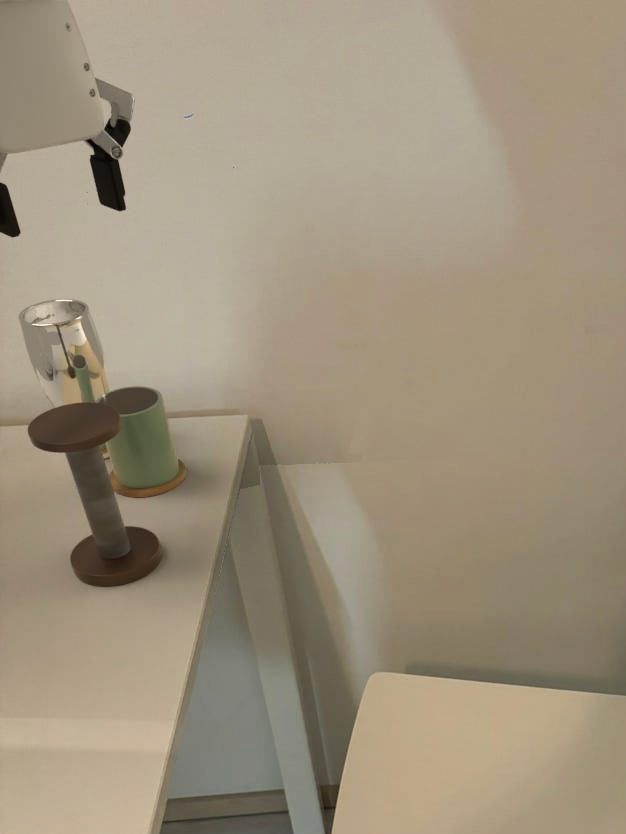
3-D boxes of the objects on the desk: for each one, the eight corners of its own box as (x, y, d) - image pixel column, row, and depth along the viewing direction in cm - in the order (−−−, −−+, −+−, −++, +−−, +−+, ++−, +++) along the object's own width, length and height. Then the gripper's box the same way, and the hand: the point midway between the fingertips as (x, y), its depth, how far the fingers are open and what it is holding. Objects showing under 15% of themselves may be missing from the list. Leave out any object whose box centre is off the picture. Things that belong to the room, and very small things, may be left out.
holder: (60, 586, 83) (7, 445, 74) (91, 535, 89) (45, 399, 80) (147, 587, 83) (105, 446, 74) (172, 536, 89) (135, 400, 79)
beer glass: (137, 451, 101) (100, 315, 91) (72, 470, 98) (26, 331, 88) (117, 425, 105) (78, 292, 95) (54, 443, 102) (8, 308, 92)
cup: (107, 488, 94) (84, 415, 89) (127, 456, 99) (106, 385, 94) (169, 489, 94) (150, 416, 89) (187, 456, 99) (170, 385, 93)
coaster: (99, 496, 94) (98, 491, 94) (123, 458, 100) (122, 453, 99) (174, 497, 94) (173, 492, 93) (194, 459, 100) (193, 454, 99)
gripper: (78, -39, 75) (127, 190, 86) (-149, -23, 65) (-60, 234, 76) (130, -31, 71) (175, 207, 82) (-102, -13, 61) (-15, 255, 72)
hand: (62, 220), depth 79 cm, fingers open, 9 cm apart
